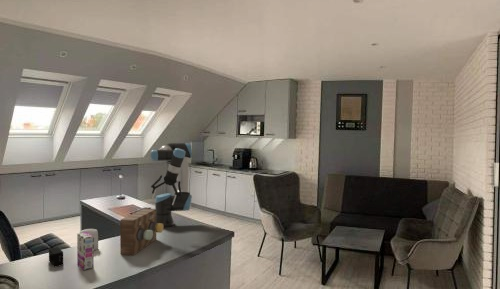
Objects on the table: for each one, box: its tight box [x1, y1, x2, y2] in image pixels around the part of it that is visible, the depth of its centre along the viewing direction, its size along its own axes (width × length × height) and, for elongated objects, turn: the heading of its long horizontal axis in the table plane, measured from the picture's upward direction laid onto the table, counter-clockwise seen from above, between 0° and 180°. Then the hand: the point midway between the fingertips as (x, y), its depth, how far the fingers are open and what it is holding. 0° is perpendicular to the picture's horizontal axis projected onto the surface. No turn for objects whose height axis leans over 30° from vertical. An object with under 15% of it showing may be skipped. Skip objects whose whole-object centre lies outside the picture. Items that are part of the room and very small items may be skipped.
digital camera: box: [48, 246, 64, 268], centre depth 168 cm, size 10×5×7 cm, turn 45°
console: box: [119, 208, 157, 256], centre depth 193 cm, size 28×10×20 cm, turn 170°
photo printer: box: [79, 228, 99, 251], centre depth 187 cm, size 10×4×12 cm, turn 104°
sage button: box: [144, 230, 153, 240], centre depth 185 cm, size 6×3×6 cm, turn 170°
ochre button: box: [155, 223, 164, 234], centre depth 199 cm, size 6×3×6 cm, turn 170°
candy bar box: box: [76, 232, 95, 271], centre depth 164 cm, size 11×5×16 cm, turn 45°
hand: (162, 201), depth 209 cm, fingers open, 13 cm apart
